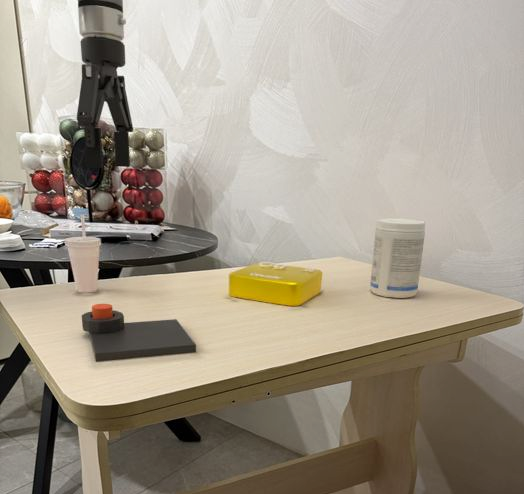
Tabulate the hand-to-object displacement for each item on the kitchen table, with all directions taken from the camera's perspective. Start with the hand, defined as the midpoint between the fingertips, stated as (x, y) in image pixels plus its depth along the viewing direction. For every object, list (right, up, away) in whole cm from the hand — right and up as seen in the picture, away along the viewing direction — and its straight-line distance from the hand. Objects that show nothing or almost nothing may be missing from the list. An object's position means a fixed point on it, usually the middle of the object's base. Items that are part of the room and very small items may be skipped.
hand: (109, 167), depth 99 cm
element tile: (+32, -24, +4) cm, 40 cm away
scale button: (+6, -30, -25) cm, 39 cm away
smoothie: (-4, -24, 0) cm, 24 cm away
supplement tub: (+56, -23, +8) cm, 61 cm away
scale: (+12, -34, -26) cm, 44 cm away
